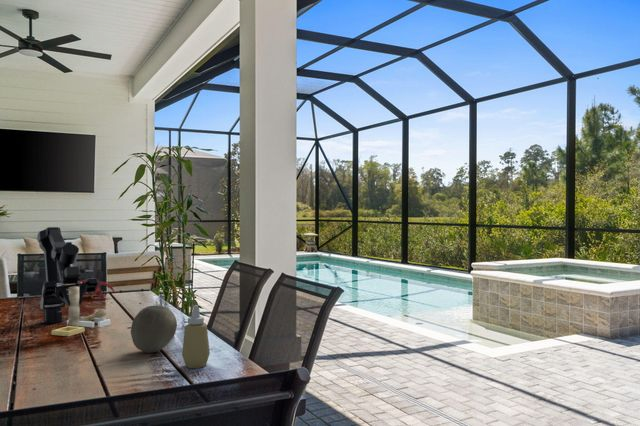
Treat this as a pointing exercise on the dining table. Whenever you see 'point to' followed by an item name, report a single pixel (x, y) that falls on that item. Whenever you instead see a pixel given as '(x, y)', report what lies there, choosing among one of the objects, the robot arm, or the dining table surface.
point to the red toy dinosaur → (98, 291)
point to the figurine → (93, 316)
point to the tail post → (74, 306)
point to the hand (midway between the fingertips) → (74, 304)
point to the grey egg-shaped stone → (153, 328)
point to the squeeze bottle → (195, 341)
